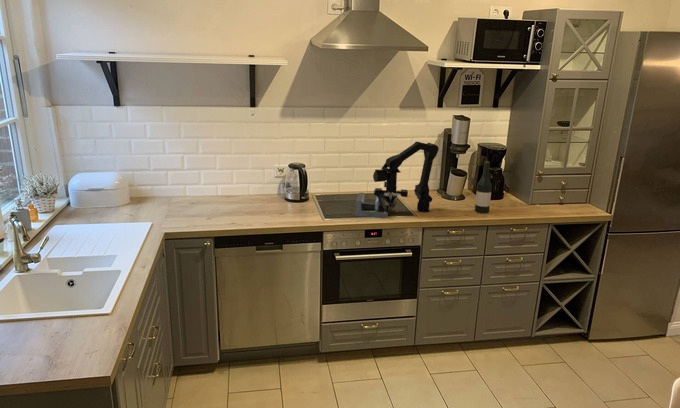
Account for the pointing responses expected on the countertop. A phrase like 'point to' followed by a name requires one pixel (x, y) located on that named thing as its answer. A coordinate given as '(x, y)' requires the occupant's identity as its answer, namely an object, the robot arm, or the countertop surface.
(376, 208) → the paddle
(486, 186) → the wine bottle
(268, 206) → the countertop surface
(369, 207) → the gauge frame
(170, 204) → the countertop surface
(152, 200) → the countertop surface
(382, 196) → the phone stand
